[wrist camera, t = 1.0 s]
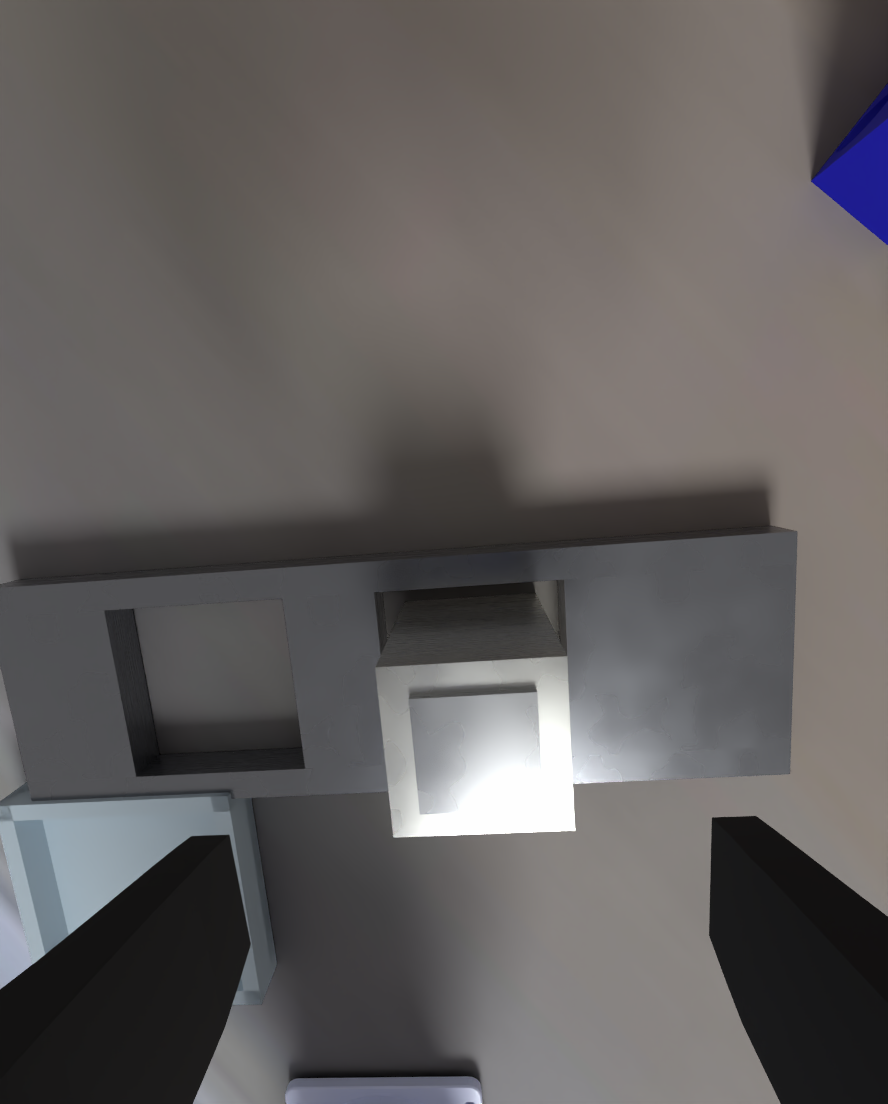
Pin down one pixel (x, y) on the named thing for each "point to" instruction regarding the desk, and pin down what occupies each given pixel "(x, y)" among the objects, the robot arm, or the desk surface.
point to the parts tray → (124, 862)
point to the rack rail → (360, 636)
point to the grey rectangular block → (476, 718)
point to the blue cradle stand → (862, 169)
